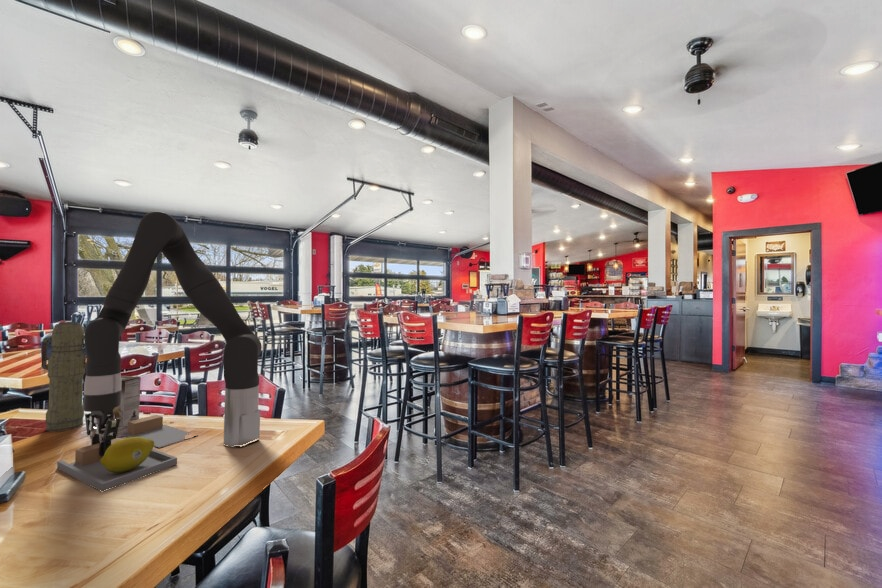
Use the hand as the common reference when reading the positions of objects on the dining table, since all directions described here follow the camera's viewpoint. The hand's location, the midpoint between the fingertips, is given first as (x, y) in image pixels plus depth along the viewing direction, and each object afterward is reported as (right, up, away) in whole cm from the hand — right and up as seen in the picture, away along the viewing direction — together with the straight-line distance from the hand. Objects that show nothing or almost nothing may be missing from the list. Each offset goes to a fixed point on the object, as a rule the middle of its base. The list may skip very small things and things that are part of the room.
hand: (100, 452), depth 98 cm
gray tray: (+9, -2, -4) cm, 10 cm away
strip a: (+3, -2, +17) cm, 17 cm away
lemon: (+13, -2, -6) cm, 15 cm away
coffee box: (-18, -2, +26) cm, 32 cm away
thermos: (-34, -1, +22) cm, 40 cm away
